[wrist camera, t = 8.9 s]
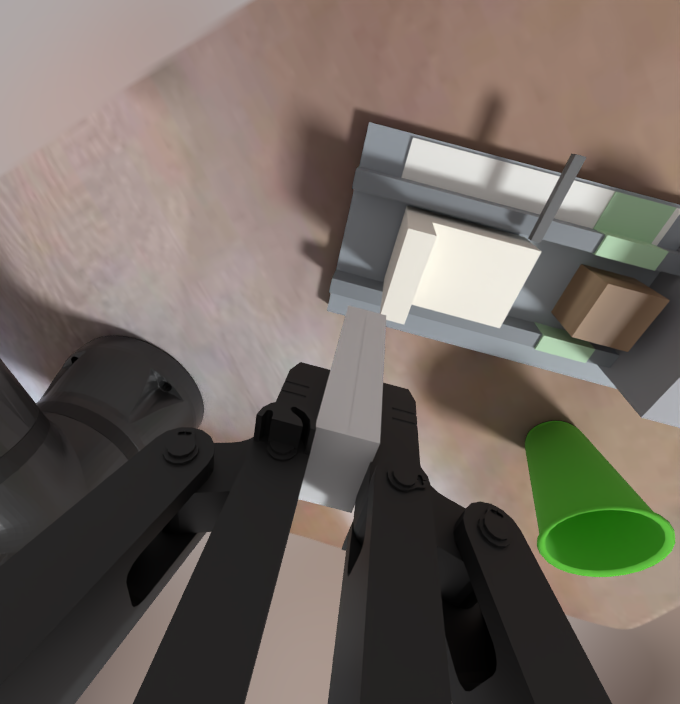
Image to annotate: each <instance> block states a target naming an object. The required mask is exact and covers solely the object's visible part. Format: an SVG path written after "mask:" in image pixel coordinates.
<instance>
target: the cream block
mask: <svg viewBox="0 0 680 704" xmlns="http://www.w3.org/2000/svg"><path fill="white" fill-rule="evenodd" d="M585 159H586V157H584V156H581V155H577V154H571V156H570V158H569V160H568V162H567V163H566V165H565V167H564V169H563V171H562V173H561V175H560V177H559V179H558V181H557V183H556V185H555V187H554V189H553V191H552V193H551V195H550V197H549V199H548V200H547V202H546V204H545V206H544V208H543V210H542V212H541V214H540V216H539V218H538V220H537V222H536V224H535V226H534V228H533V230H532V232H531V234H530V236H529V237H528V239H530V240H531V241H534V242H538V243H541V241H542V239H543V237H544V236H545V234H546V232H547V230H548V228H549V226H550V224H551V223H552V221H553V219H554V217H555V215H556V213H557V211H558V209H559V208H560V206H561V204H562V202H563V200H564V198H565V196H566V195H567V193H568V191H569V189H570V187H571V185H572V183H573V182H574V180H575V178H576V176H577V174H578V172H579V170H580V169H581V167H582V165H583V163H584V161H585ZM528 239H526V238H525V237H523V236H519V235H515V234H511V233H508V232H504V231H500V230H496V229H493V228H489V227H485V226H481V225H478V224H474V223H470V222H466V221H463V220H459V219H455V218H451V217H448V216H444V215H440V214H437V213H433V212H429V211H425V210H422V209H418V208H414V207H410V206H406V209H405V213H404V216H403V219H402V222H401V226H400V229H399V232H398V235H397V239H396V242H395V245H394V248H393V252H392V255H391V258H390V261H389V265H388V268H387V271H386V274H385V278H384V284H383V293H382V301H381V310H380V314H383V315H386V320H389V321H393V322H396V323H400V324H405V321H406V319H407V316H408V313H409V310H410V308H411V305H415V306H419V307H422V308H426V309H430V310H434V311H437V312H441V313H445V314H448V315H452V316H456V317H460V318H463V319H467V320H471V321H474V322H478V323H482V324H486V325H489V326H493V327H497V328H500V327H501V325H502V323H503V322H504V320H505V318H506V316H507V314H508V312H509V311H510V309H511V307H512V305H513V303H514V301H515V300H516V298H517V296H518V294H519V292H520V291H521V289H522V287H523V285H524V283H525V281H526V280H527V278H528V276H529V274H530V272H531V270H532V269H533V267H534V265H535V263H536V261H537V259H538V258H539V256H540V254H541V252H542V251H540V250H539V249H538V248H537V247H536V246H535V245H533V244H532V243H531V242H530V241H529V240H528Z"/></svg>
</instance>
